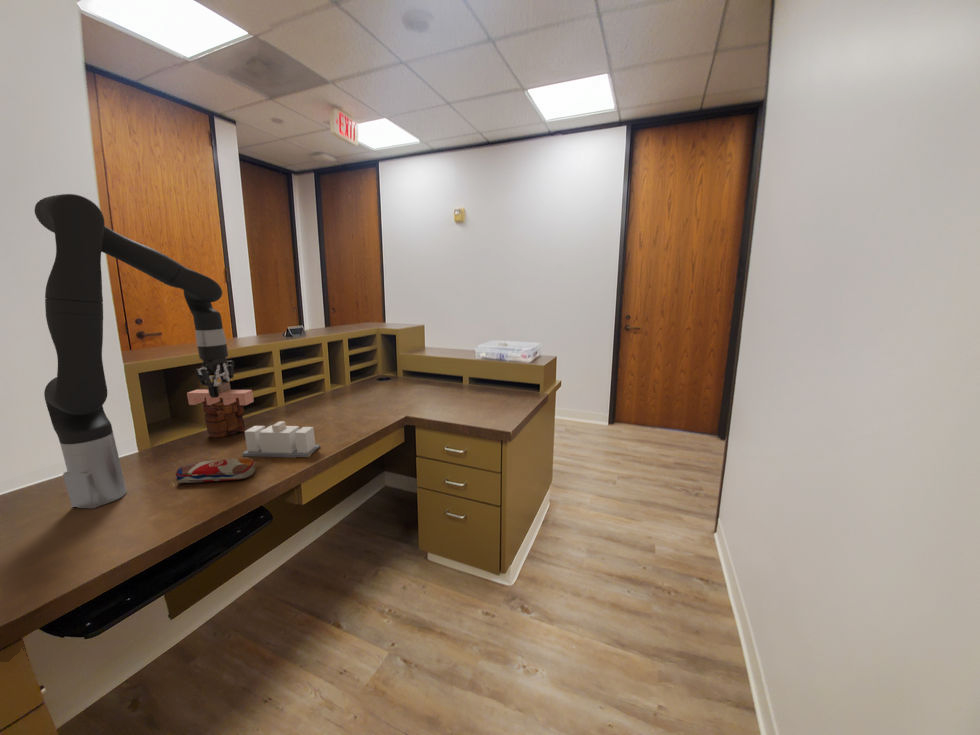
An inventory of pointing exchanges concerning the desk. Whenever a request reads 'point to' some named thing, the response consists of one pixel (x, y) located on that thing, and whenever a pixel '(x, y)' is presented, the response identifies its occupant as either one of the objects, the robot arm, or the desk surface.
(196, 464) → the pencil case
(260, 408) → the desk surface
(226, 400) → the pink arch block
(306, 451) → the white block cluster
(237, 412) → the wooden figurine
